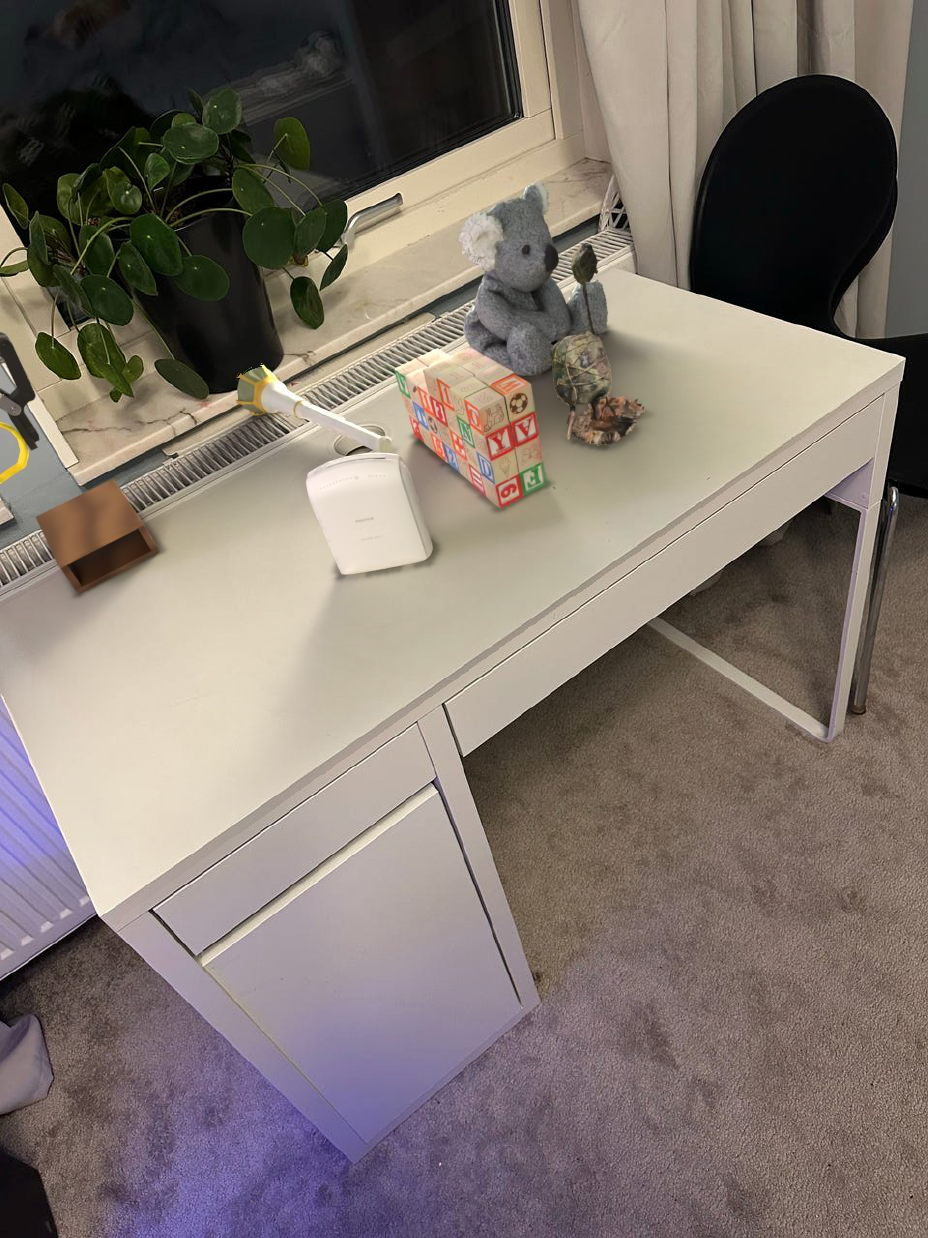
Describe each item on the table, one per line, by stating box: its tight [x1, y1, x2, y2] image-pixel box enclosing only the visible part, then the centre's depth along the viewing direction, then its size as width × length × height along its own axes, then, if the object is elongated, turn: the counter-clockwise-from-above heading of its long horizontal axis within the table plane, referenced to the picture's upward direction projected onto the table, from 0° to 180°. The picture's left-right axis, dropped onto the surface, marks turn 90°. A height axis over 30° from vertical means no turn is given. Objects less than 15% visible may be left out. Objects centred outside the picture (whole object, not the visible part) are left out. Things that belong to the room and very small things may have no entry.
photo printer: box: [305, 452, 434, 575], centre depth 84 cm, size 10×4×12 cm, turn 91°
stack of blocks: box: [393, 346, 547, 509], centre depth 94 cm, size 21×6×12 cm, turn 30°
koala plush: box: [456, 180, 609, 377], centre depth 110 cm, size 17×18×20 cm
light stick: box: [234, 364, 393, 453], centre depth 110 cm, size 7×6×30 cm
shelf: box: [35, 478, 160, 595], centre depth 100 cm, size 10×13×4 cm
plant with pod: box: [547, 242, 647, 447], centre depth 90 cm, size 8×11×20 cm
